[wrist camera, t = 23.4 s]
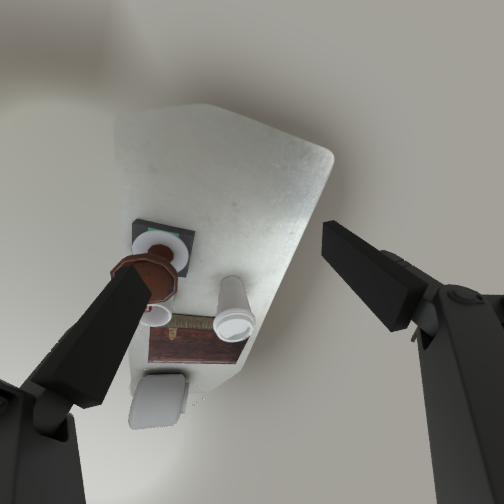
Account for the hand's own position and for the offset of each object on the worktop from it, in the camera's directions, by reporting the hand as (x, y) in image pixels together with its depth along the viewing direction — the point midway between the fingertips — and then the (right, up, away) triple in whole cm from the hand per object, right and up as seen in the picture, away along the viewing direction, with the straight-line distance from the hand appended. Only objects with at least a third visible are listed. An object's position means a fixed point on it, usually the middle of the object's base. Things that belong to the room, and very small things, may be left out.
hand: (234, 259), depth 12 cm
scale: (-20, +1, +30) cm, 36 cm away
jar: (-29, -48, +58) cm, 81 cm away
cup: (-24, -9, +36) cm, 44 cm away
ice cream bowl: (-19, 0, +27) cm, 33 cm away
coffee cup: (-5, -9, +39) cm, 40 cm away
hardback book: (-16, -28, +48) cm, 58 cm away
